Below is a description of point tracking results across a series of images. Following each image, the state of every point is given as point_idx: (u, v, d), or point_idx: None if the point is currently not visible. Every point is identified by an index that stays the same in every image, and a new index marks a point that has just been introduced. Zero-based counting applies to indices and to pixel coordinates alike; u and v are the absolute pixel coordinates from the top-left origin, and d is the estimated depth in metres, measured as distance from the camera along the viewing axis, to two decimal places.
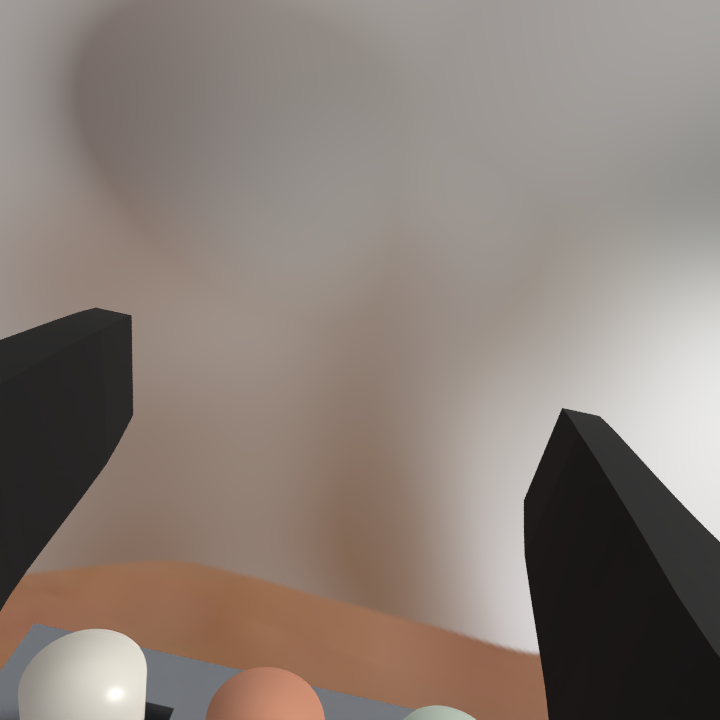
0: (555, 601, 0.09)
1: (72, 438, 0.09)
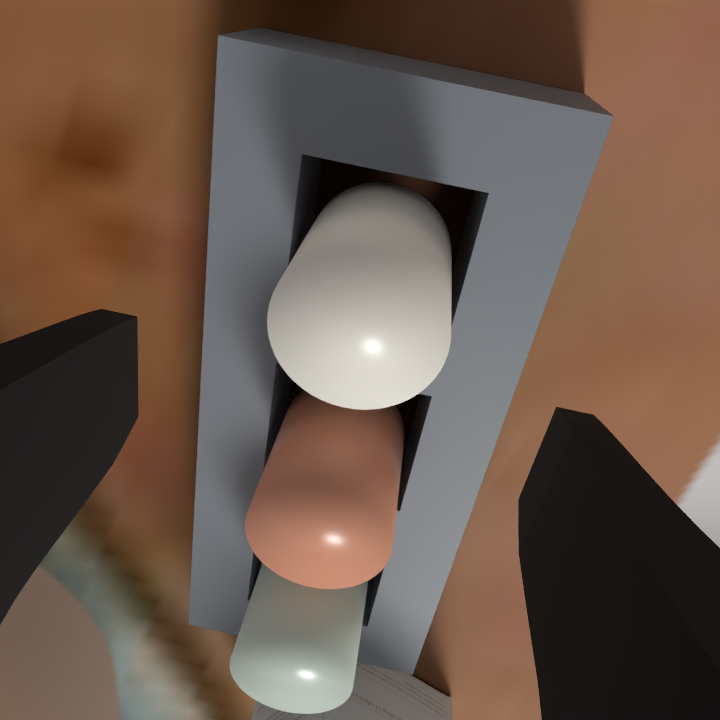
0: (548, 600, 0.09)
1: (78, 440, 0.09)
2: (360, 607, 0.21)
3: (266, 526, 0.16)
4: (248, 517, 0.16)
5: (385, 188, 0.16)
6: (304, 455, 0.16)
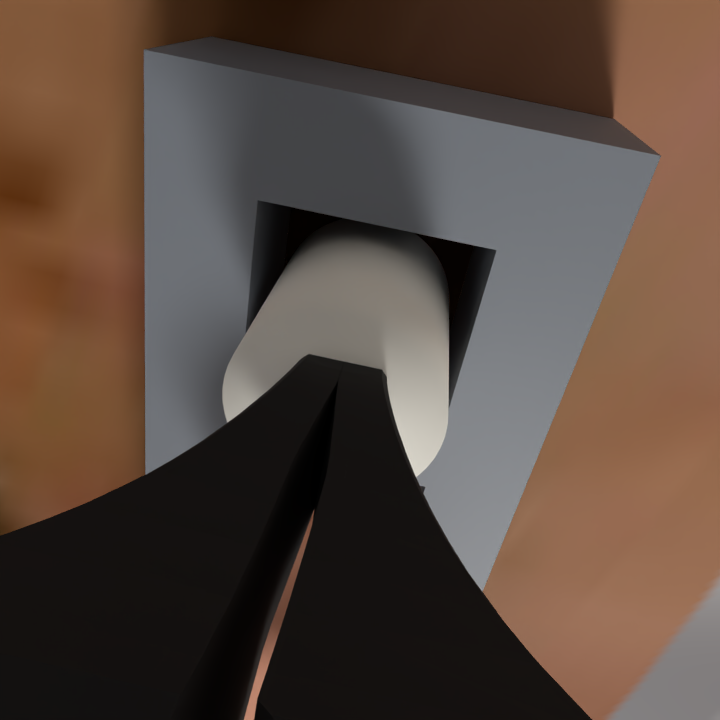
0: None
1: (309, 490, 0.09)
2: None
3: None
4: None
5: (371, 225, 0.13)
6: None
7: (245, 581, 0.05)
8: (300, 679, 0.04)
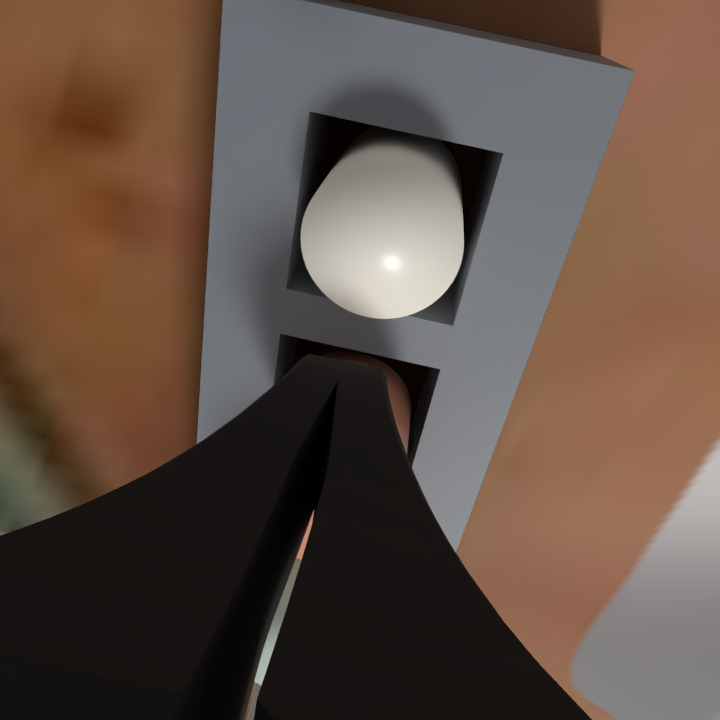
0: None
1: (308, 490, 0.09)
2: None
3: None
4: None
5: None
6: None
7: (245, 581, 0.05)
8: (300, 679, 0.04)
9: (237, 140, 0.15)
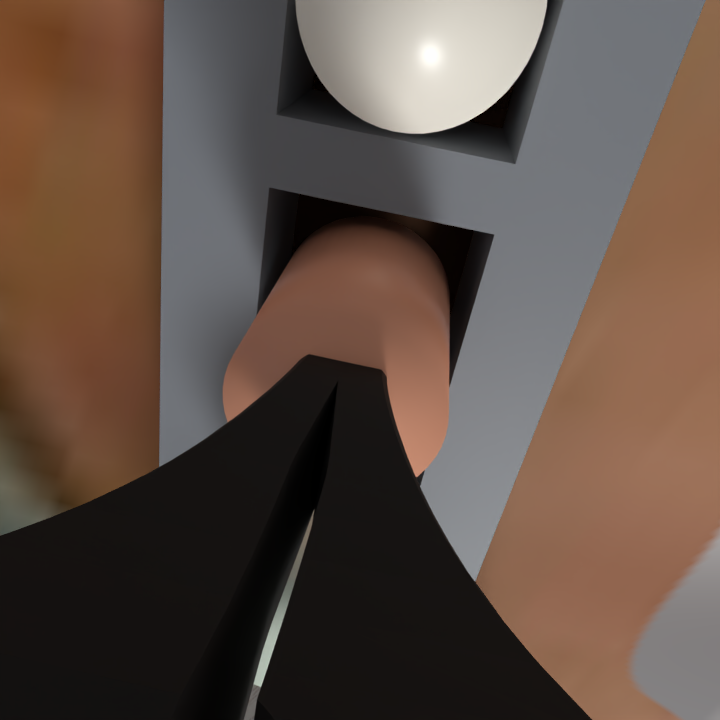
0: None
1: (308, 490, 0.09)
2: None
3: (256, 394, 0.11)
4: (228, 380, 0.11)
5: None
6: (314, 286, 0.11)
7: (244, 581, 0.05)
8: (299, 679, 0.04)
9: None
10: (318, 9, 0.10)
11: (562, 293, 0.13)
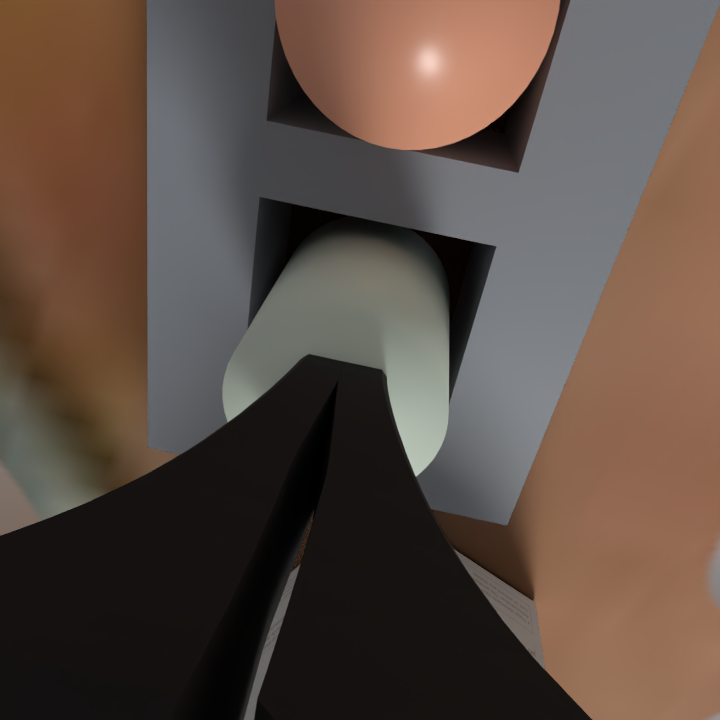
0: None
1: (309, 490, 0.09)
2: (446, 326, 0.12)
3: None
4: None
5: None
6: None
7: (245, 581, 0.05)
8: (300, 679, 0.04)
9: None
10: None
11: None
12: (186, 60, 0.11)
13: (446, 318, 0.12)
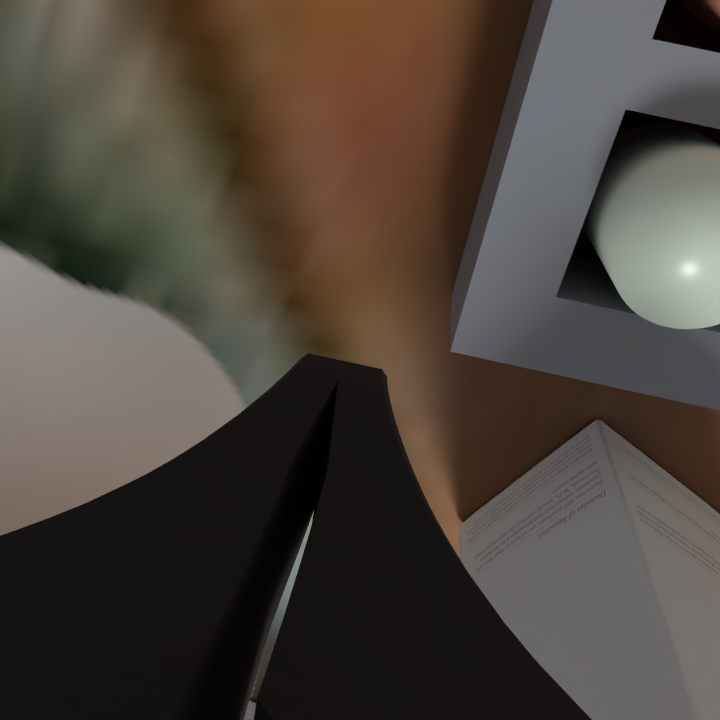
0: None
1: (308, 490, 0.09)
2: None
3: None
4: None
5: None
6: None
7: (245, 581, 0.05)
8: (300, 679, 0.04)
9: None
10: None
11: None
12: None
13: None
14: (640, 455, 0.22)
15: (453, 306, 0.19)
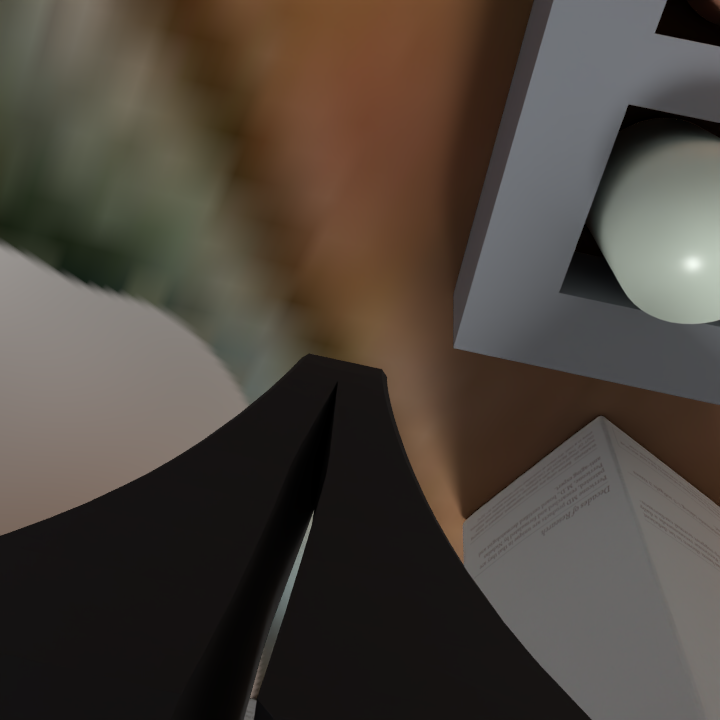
0: None
1: (309, 490, 0.09)
2: None
3: None
4: None
5: None
6: None
7: (245, 581, 0.05)
8: (300, 679, 0.04)
9: None
10: None
11: None
12: None
13: None
14: (643, 451, 0.22)
15: (456, 303, 0.19)
